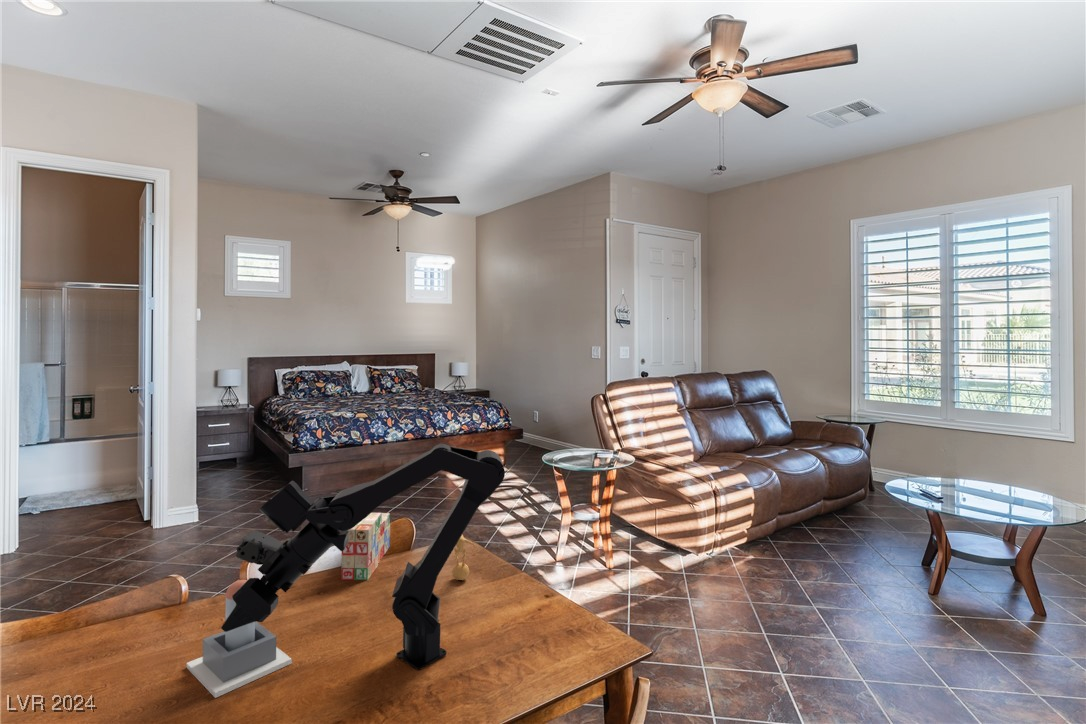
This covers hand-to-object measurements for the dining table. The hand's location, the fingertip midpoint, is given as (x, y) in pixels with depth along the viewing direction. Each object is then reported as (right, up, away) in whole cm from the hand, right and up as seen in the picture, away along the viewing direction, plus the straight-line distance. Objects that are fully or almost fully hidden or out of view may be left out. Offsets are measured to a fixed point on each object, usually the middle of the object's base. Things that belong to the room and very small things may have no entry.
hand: (235, 615), depth 92 cm
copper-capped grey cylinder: (+1, -8, 0) cm, 8 cm away
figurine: (+33, -9, +35) cm, 49 cm away
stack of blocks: (+8, -8, +45) cm, 46 cm away
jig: (0, -9, 0) cm, 9 cm away
